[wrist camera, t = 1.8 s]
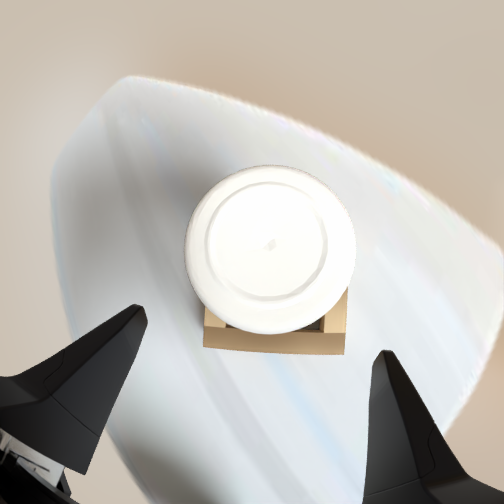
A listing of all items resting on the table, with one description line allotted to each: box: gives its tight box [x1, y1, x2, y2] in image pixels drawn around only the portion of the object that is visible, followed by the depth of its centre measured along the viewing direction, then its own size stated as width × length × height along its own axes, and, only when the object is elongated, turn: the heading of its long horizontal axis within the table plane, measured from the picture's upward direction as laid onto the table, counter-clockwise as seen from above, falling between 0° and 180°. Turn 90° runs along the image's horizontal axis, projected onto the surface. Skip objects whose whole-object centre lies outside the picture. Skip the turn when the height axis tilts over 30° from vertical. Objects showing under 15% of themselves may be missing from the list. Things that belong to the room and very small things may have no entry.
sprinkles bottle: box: [184, 165, 356, 334], centre depth 13 cm, size 5×5×13 cm
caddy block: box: [203, 286, 348, 355], centre depth 19 cm, size 9×9×2 cm
